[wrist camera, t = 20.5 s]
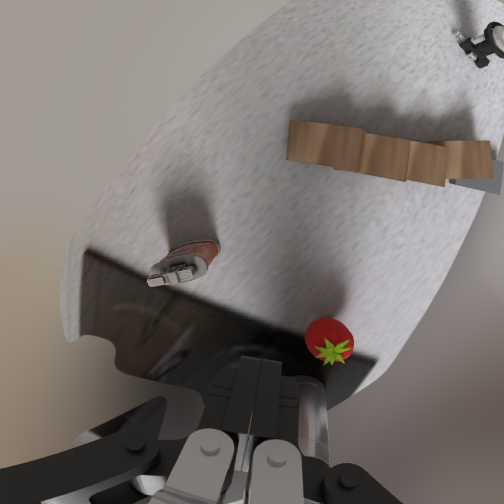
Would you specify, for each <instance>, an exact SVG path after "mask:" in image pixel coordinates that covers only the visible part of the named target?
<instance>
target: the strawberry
mask: <svg viewBox="0 0 504 504" xmlns="http://www.w3.org/2000/svg"><path fill="white" fill-rule="evenodd" d="M305 342H306V345H307V347H308V349H309V351H310V352H311V353H312V354H313V355H314V356H315V358H319V359H321V360H324V361H325V362H324V365H325V364H326V363H328V362H330V363H331V365H332V364H333V362H337V361H340V362H343V363H345V362H344V359H346V358H347V357H349V356H350V355H351V353H352V351H353V347H354V338H353V336H352V334H351V332H350V331H349V330H348V329H347V328H346V326H345V325H344V324H342V323H341V322H340V321H338V320H335V319H332V318H320V319H317V320H315V321H313V322H312V323H311V324H310V325H309V327H308V329H307V331H306V333H305ZM324 365H323V366H324Z"/></svg>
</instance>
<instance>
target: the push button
mask: <svg viewBox="0 0 504 504" xmlns="http://www.w3.org/2000/svg"><path fill="white" fill-rule="evenodd" d="M491 29H493V30H491ZM458 34H460V36H459V35H458ZM456 35H457V36H458V37H456ZM454 37H455V38H456V39H458V40H459V42H460V43H461V44H460V47H461V48H462V49H463V50H464V51H465V52H466V53H467V54H468V55H467V57H468V58H469V59H470V60H471V61H472V60H474V61H475V62H476V66H477V67H478V68H483V67H486V66H487V65H488V64H489V62H490V60H492V58H493V57H496V56H498V57H500V58H503V59H504V26H503V25H502V24H500V23H498V22H491V23H489V24H488V26H487V28H486V29H485V30H484V34H482V35H480V36H479V37H477V38H474V37H472V36H471V35H470V36H468V37H465V36H463V35H462V34H461V33H460V32H459V31H457V33H455V34H454ZM469 56H470V57H471V58H470V57H469Z"/></svg>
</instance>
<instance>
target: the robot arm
mask: <svg viewBox="0 0 504 504" xmlns="http://www.w3.org/2000/svg"><path fill="white" fill-rule="evenodd" d="M260 361H261V359H258V358H251V357H246V356H241V360H240V363H239V367H238V369H235V368H230V367H224V368H223V369H222V370H221V371H220V372H219V373H217V374H216V377H215V380H214V383H213V386H212V388H211V391H210V395H209V397H208V400H207V403H206V406H205V408H204V412H203V415H202V417H201V420H200V423H199V426H198V428H197V429H196V431H195V432H194V433H192V434H191V435H190V436H188V437H186V438H183V439H179V440H157V439H156V438H155V436H154V435H153V434H152V433H150V432H149V431H147V430H144V429H141V428H127V429H124V430H121V431H119V432H116V433H114V434H111V435H109V436H106V437H103V438H101V439H98V440H95V441H93V442H90V443H87V444H84V445H81V446H78V447H75V448H73V449H70V450H67V451H64V452H60V453H58V454H54V455H51V456H47V457H44V458H41V459H37V460H34V461H30V462H27V463H23V464H19V465H15V466H11V467H7V468H2V469H0V504H147V503H149V504H223V503H224V500H225V497H226V494H227V491H228V488H229V486H230V485H231V482H232V477H233V473H234V470H238V471H240V469H241V464H242V459H243V454H244V449H245V444H246V438H247V433H248V427H249V423H250V417H251V412H252V407H253V401H254V396H255V390H256V384H257V379H258V373H259V367H260ZM281 370H282V362H278V361H271V360H265V359H263V360H262V366H261V372H260V377H259V383H258V388H257V394H256V399H255V405H254V410H253V416H252V422H251V427H250V432H249V438H248V443H247V449H246V454H245V459H244V464H243V469H242V471H245V472H248V476H247V481H246V486H245V491H244V499H243V504H403V503H401V502H400V501H399V500H398V499H397V498H396V497H394V496H393V495H392V494H391V493H390V492H389V491H388V490H386V489H385V488H384V487H383V486H382V485H381V484H380V483H379V482H377V481H376V480H375V479H374V478H373V477H372V476H371V475H370V474H369V473H367V472H366V471H365V470H364V469H363V468H361V467H360V466H358V465H355V464H350V463H342V464H338V465H336V466H334V467H332V468H330V460H329V441H328V422H327V405H326V392H325V387H324V385H323V384H322V383H321V382H320V381H319V380H317V379H316V378H313V377H311V376H305V375H298V376H292V377H287V376H281Z"/></svg>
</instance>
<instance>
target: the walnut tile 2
mask: <svg viewBox="0 0 504 504" xmlns="http://www.w3.org/2000/svg"><path fill="white" fill-rule="evenodd" d="M410 144H411V141H410V140H406V139H401V138H395V137H389V136H382V135H376V134H369V133H366V141H365V149H364V157H363V165H362V172H361V171H353V170H347V169H342V168H336V167H334V169H337V170H343V171H350V172H355V173H361V174H367V175H372V176H378V177H383V178H388V179H393V180H398V181H403V182H406V180H407V173H408V164H409V155H410Z"/></svg>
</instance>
